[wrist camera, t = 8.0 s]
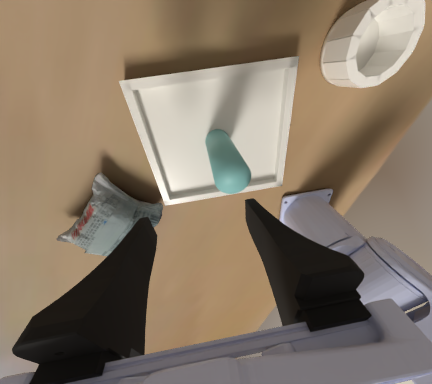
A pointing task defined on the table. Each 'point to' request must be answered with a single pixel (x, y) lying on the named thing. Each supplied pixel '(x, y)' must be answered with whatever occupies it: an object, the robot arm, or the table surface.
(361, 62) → the bowl
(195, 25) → the table surface
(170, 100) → the tray
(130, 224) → the packaged food
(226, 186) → the dowel
